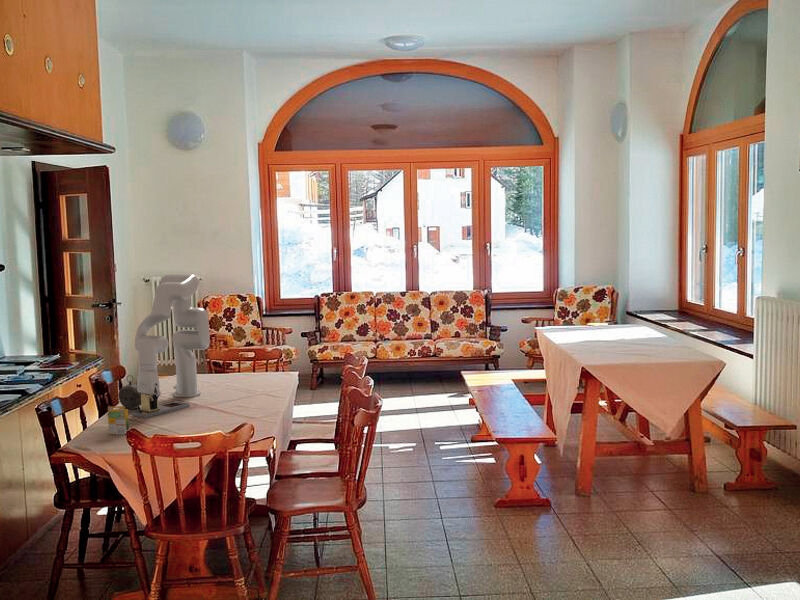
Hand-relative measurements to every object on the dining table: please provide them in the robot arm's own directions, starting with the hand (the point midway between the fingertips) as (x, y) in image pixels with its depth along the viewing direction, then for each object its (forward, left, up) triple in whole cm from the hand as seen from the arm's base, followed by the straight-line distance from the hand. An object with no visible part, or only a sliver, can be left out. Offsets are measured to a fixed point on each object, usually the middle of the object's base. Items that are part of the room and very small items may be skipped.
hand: (149, 407), depth 371 cm
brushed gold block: (0, 0, -3) cm, 3 cm away
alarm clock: (-15, +1, -4) cm, 16 cm away
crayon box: (+13, -25, -4) cm, 28 cm away
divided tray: (0, +6, -4) cm, 7 cm away
